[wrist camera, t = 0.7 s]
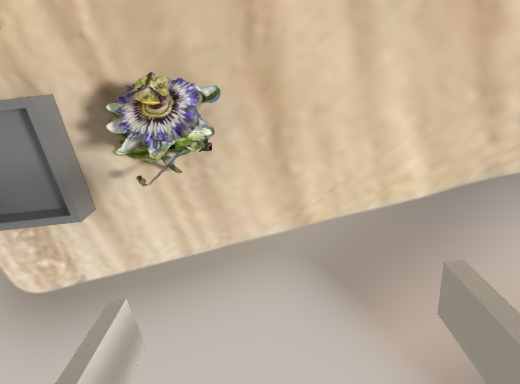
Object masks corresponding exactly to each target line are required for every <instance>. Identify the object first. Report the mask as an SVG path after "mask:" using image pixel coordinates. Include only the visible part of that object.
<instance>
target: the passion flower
mask: <svg viewBox="0 0 520 384" xmlns="http://www.w3.org/2000/svg"><path fill="white" fill-rule="evenodd" d="M127 87H129V86H127ZM129 88H130V89H128V91H129V92H127V93H125V94H122V96H121V97H119V100H118V102H116V103H110V104H108V105H106V108H107V110H109V111H110V112H112V113H113V114H115V115H116V116H114V117H113V118H112V119H111V120H110V121H109V122H110V123H108V124H107V125H106V128H107V129H108V130H109V131H110V132H112V133H113V134H117V135H121V136H122V138H126V139H125V141H120V144H121V145H122V147H121V148H119V149H118V150H117V151H115V152H116V153H117V154H118V155H128V156H131V157H134V158H140V159H141V160H144V161H146V162H147V163H153V162H155V161H158V160H160V159H162V160H163V162H164V163H165V164H166V166H165V167H164V168H163V169H162V170H161V171H160V172H159V173H158V175H157V176H156V177H155V178H154V179H153V180H152V181H151V182H150V183H149V184H145V183H146V180H145V179H142V176H138V177H137V178H136V179H137V180H138V181H139V183H140V184H141V185H142V186H147V185H150V184H151V183H152V182H153V181H154V180H156V178H158V177H159V176H160V174H161V173H162V172H164V170H165V169H166V168H167V167H169V168H170V169H172V170H174V171H175V172H177V173H182V171H180V170H179V169H178V168H177V167H175V166H174V160H175V159H176V158H177V157H178V156H180V155H184V154H188V153H189V152H191V151H192V152H200V151H211V150H212V144H211V143H208V139H209V137H210V136H212V135H214V128H213V127H212V126H211V125H210V124H209V123H208V122H206V121H204V120H203V119H202V118H201V116H200V115H199V114H198V109H199V106H200V104H201V103H205V102H208V103H212V102H215V101H216V100H217V99H218V98H219V96H220V89H219V88H218V87H217V86H212V87H208V88H202V89H200V88H199V87H198V86H197V85H196V84H194V83H189V82H186V81H185V80H183V79H182V78H178V79H177V80H171V79H170V78H166V77H162V76H161V77H157V78H156V75H155V74H154V73H152V72H150V73H149V74H148V75H147V76H142V77H141V78H140V79H139V80H138V81H137V83H136V84H133V89H132V88H131V87H129ZM200 141H201V142H200ZM193 142H197V145H196V147H191V146H190V145H191V144H192V143H193ZM202 142H203V143H204V144H203V143H202ZM175 149H181V150H180V151H179V150H178V153H177V154H176V155H175V156H174V157H172V158H171V157H170V156H169V155H168V154H169V152H170V151H171V150H175Z"/></svg>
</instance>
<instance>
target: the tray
mask: <svg viewBox="0 0 520 384" xmlns="http://www.w3.org/2000/svg"><path fill="white" fill-rule="evenodd" d="M95 210H96V208H95V205H94V203H93V200H92V197H91V195H90V192H89V189H88V187H87V184H86V181H85V179H84V176H83V173H82V171H81V168H80V165H79V163H78V160H77V158H76V155H75V152H74V150H73V147H72V144H71V142H70V139H69V136H68V134H67V131H66V128H65V126H64V123H63V120H62V118H61V115H60V112H59V110H58V107H57V105H56V102H55V99H54V97H53V94H52V95H43V96H34V97H27V98H19V99H12V100H4V101H0V231H1V230H10V229H20V228H29V227H38V226H47V225H56V224H66V223H75V222H82V221H83V220H84V219H85V218H86V217H88V216H89V215H90V214H91V213H92V212H94V211H95Z"/></svg>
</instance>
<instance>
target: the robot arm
mask: <svg viewBox="0 0 520 384" xmlns="http://www.w3.org/2000/svg"><path fill="white" fill-rule="evenodd" d="M438 315H439V316H440V318H441V319H442V320H443V322H444V323H445V325H446V326H447V328H448V329H449V331H450V332H451V333H452V335H453V336H454V338H455V339H456V341H457V342H458V343H459V345H460V346H461V347H462V349H463V350H464V352H465V353H466V355H467V356H468V358H469V359H470V360H471V362H472V363H473V364H474V366H475V367H476V369H477V370H478V372H479V373H480V375H481V376H482V377H483V379H484V380H485V382H486V383H487V384H520V314H519V313H518V312H517V311H516V310H515V309H514V308H513V307H512V306H511V305H510V304H509V303H508V302H507V301H506V300H505V299H504V298H503V297H502V296H501V295H500V294H499V293H498V292H497V291H496V290H494V288H492V287H491V286H490V285H489V284H488V283H487V282H486V281H485V280H484V279H483V278H482V277H481V276H480V275H479V274H478V273H477V272H476V271H475V270H474V269H473V268H472V267H471V266H470V265H469V264H468V263H467V262H466V261H464V260H457V261H448V262H444V264H443V273H442V281H441V290H440V299H439V307H438ZM145 346H146V344H145V341H144V339H143V337H142V335H141V332H140V330H139V328H138V325H137V324H136V321H135V318H134V316H133V314H132V311H131V309H130V307H129V305H128V302H127V300H126V299H123V300H115V301H109V302H108V303H107V305H106V307H105V308H104V310H103V311H102V313H101V314H100V316H99V317H98V319H97V320H96V322H95V323H94V325H93V327H92V328H91V330H90V331H89V333H88V334H87V336H86V337H85V339H84V340H83V342H82V343H81V345H80V347H79V348H78V350H77V351H76V353H75V354H74V356H73V357H72V359H71V360H70V362H69V363H68V365H67V366H66V368H65V370H64V371H63V373H62V374H61V376H60V378H59V379H58V380H57V382H56V383H55V384H130V381H131V379H132V377H133V374H134V372H135V370H136V367H137V365H138V362H139V360H140V358H141V355H142V352H143V350H144V348H145Z"/></svg>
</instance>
